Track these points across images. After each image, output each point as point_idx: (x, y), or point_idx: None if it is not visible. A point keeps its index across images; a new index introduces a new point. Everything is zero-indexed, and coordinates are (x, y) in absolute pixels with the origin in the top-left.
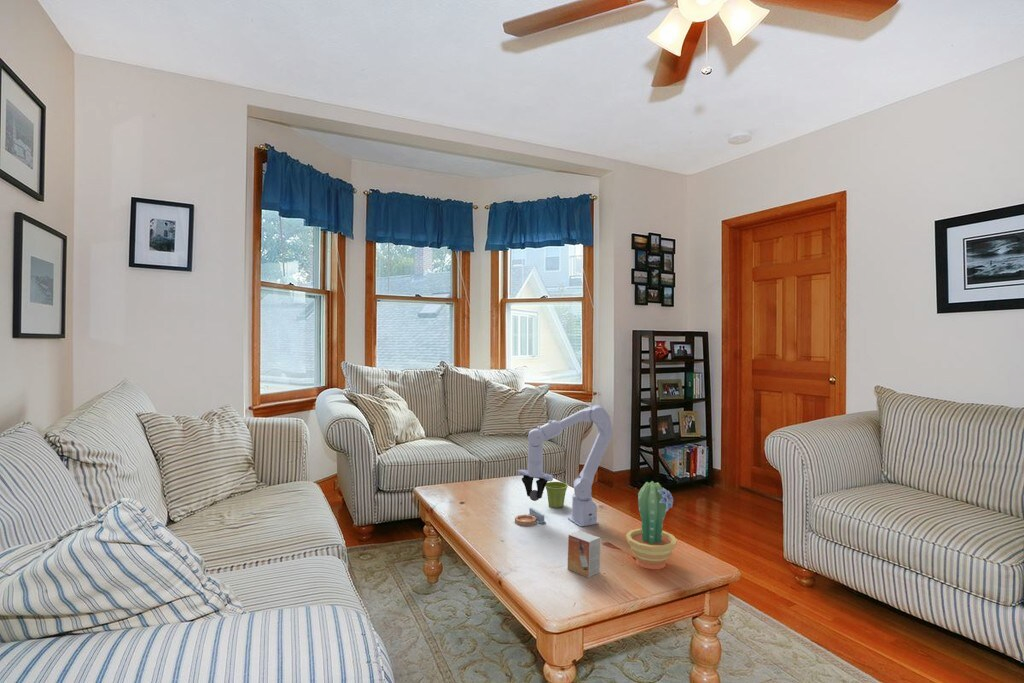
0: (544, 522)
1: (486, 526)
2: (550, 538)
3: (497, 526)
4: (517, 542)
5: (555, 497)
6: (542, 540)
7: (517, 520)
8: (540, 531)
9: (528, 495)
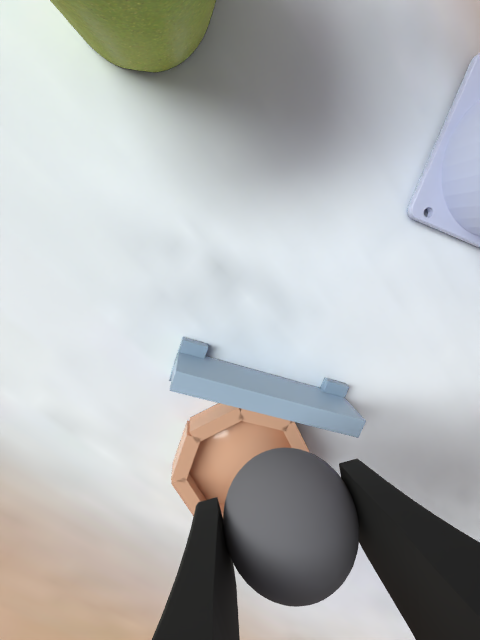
0: (344, 396)
1: (143, 634)
2: (473, 498)
3: None
4: (386, 620)
5: (192, 7)
6: None
7: None
8: (390, 480)
9: (230, 560)
